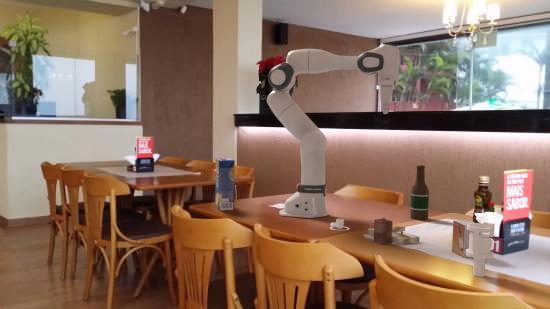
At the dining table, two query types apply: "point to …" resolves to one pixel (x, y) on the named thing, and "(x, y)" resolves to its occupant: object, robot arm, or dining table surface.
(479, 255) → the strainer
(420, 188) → the beer bottle
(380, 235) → the block
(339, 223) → the white curved piece
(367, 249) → the dining table surface
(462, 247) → the small box
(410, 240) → the ash board
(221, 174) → the juice carton
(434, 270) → the dining table surface
